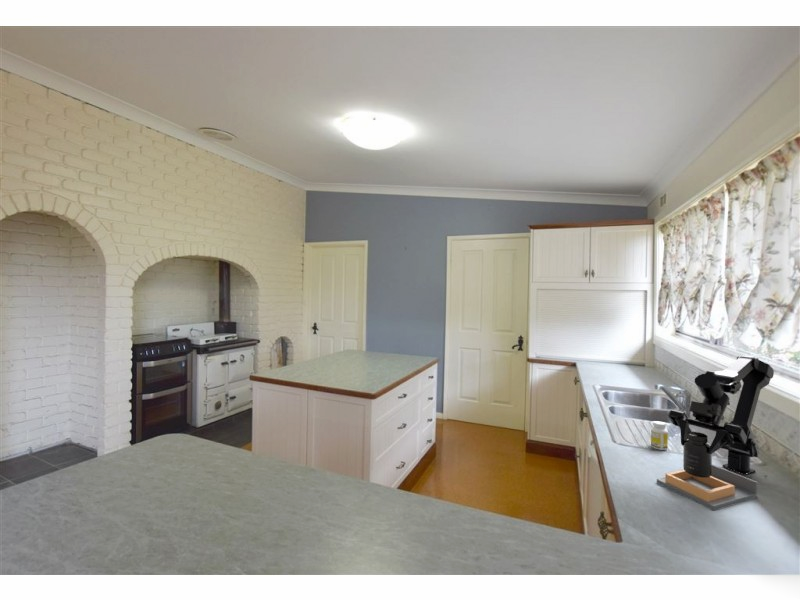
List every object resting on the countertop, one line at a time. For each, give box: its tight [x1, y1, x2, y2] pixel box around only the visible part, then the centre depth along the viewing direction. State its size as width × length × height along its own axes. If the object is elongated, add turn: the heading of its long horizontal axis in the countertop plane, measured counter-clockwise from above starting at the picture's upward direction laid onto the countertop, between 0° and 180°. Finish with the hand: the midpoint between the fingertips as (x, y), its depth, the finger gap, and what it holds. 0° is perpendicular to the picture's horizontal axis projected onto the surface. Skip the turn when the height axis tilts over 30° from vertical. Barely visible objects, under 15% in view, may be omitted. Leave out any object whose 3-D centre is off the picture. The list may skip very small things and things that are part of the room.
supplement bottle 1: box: [650, 420, 669, 451], centre depth 147 cm, size 5×5×10 cm
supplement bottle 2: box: [682, 431, 713, 478], centre depth 115 cm, size 7×7×12 cm
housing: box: [656, 463, 759, 511], centre depth 115 cm, size 20×16×5 cm
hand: (695, 448), depth 114 cm, fingers closed on supplement bottle 2, 7 cm apart
